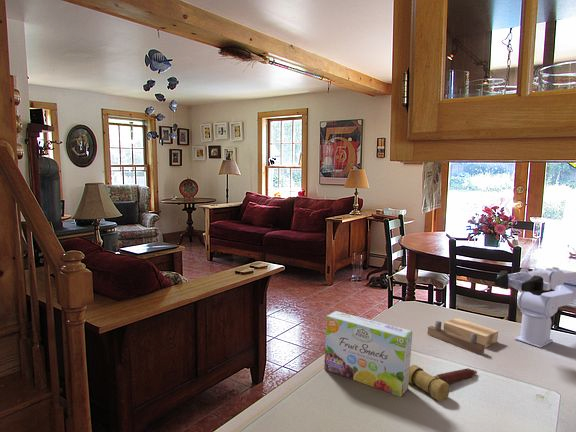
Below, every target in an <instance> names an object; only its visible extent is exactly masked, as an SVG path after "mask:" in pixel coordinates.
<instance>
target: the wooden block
mask: <svg viewBox="0 0 576 432" xmlns="http://www.w3.org/2000/svg"><path fill="white" fill-rule="evenodd" d="M443 330H445V331H447V332H450V333H453V334H455V335H458V336H461V337H464V338H466V339H469V340H470V338H471V333H475V334H477V343H480V344H483V345H485V348H487V347H490V346H492V345H494V344H496V343H497V342H498V338H499V330H496V329H493V328H489V327H487V326H483V325H480V324H478V323H475V322H471V321H468V320H467V319H466V320H465V319H462V318H459V317H455V318H453V319H449V320H447V321H444V323H443ZM485 348H484V349H485Z"/></svg>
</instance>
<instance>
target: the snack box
mask: <svg viewBox="0 0 576 432" xmlns="http://www.w3.org/2000/svg"><path fill="white" fill-rule="evenodd" d="M325 323H326V324H325V325H326V326H325V344H324V345H325V348H324V371H325V370H326V371H329V372H331V373H334V374H336V375H339V376H342V377H345V378H347V379H351V380H353V381H355V382H358V383H361V384H364V385H367V386H370V387H373V388H374V389H375V388H376V389H378V390H381V391H383V392H387V393H389V394H392V395H395V396H397V397H399V398H401V397H403V395H404V394H405V393H406V392H407V390H408V389H409V384H410V383H409V372H410V366H411V358H412V357H411V355H412V341H413V331H412V330H409V329H406V328H402V327H398V326H394V325H391V324H388V323H384V322H380V321H376V320H372V319H370V318H369V319H368V318H365V317H361V316H357V315H354V314H349V313H345V312H342V311H336V310H334V311H333V312H331V313H330V314H327V315H326V322H325Z"/></svg>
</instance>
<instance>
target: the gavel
mask: <svg viewBox="0 0 576 432" xmlns="http://www.w3.org/2000/svg"><path fill="white" fill-rule="evenodd" d="M477 374H478V370H476V369H471V368H463V369H458V370H453V371H448V372H444V373H438V374H436V375H431V374H429V373H427V372H426V371H424V369H423V368H421V367H420V366H418V365H417V364H412V365H410V372H409V384H411V385H412V386H417V387H418V388H420V389H421V390H422V391H424V392H426V393H427V394H429V395H430V396H431V398H433V399H435V400H436V401H438V402H441V401H444V400H447V398H448V397H449V395H450V390H451V387H450V385H449V384H452V383H453V384H454V383H457V382H461V381H465V380H470V379H473V377H474V376H476V375H477Z"/></svg>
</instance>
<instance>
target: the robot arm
mask: <svg viewBox="0 0 576 432" xmlns="http://www.w3.org/2000/svg"><path fill="white" fill-rule="evenodd" d="M494 286H495V287H499V288H500V289H504V290H509V286H510V287H511V288H512V289H513V288H514V290H516V291H518V292H520V293H519V294H518V297H517V299H516V301H517V302H516V303H517V304H516V305H517V308H518V309H520V313H521V325H520V332H519V333H520V335H518V336H515V337H514V340H515V341H518V342H519V341H520V342H522V343H525V344H529V345H531V346H535V347H538V348H543V347H544V346H547V345H548V344H550V343H552V342H553V341H554V340H553V339H552V338H551V330H552V329H551V328H552V317H553V316H554V315H555V314H556V313H557V312H558V310H559V308H560V307H564V306H569V305H572V304H574V303H575V302H576V271H571V270H566V269H560V268H559V267H556V266H552V267H545V269H543V268H539V267H534V268H533V269H532V270H530V271H529V269H527V268H521V269H520V271H519V272H515V273H509V271H508V270H500V271H499V274H497V277H495V279H494ZM550 290H552V291H550ZM543 291H548V292H543Z"/></svg>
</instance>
